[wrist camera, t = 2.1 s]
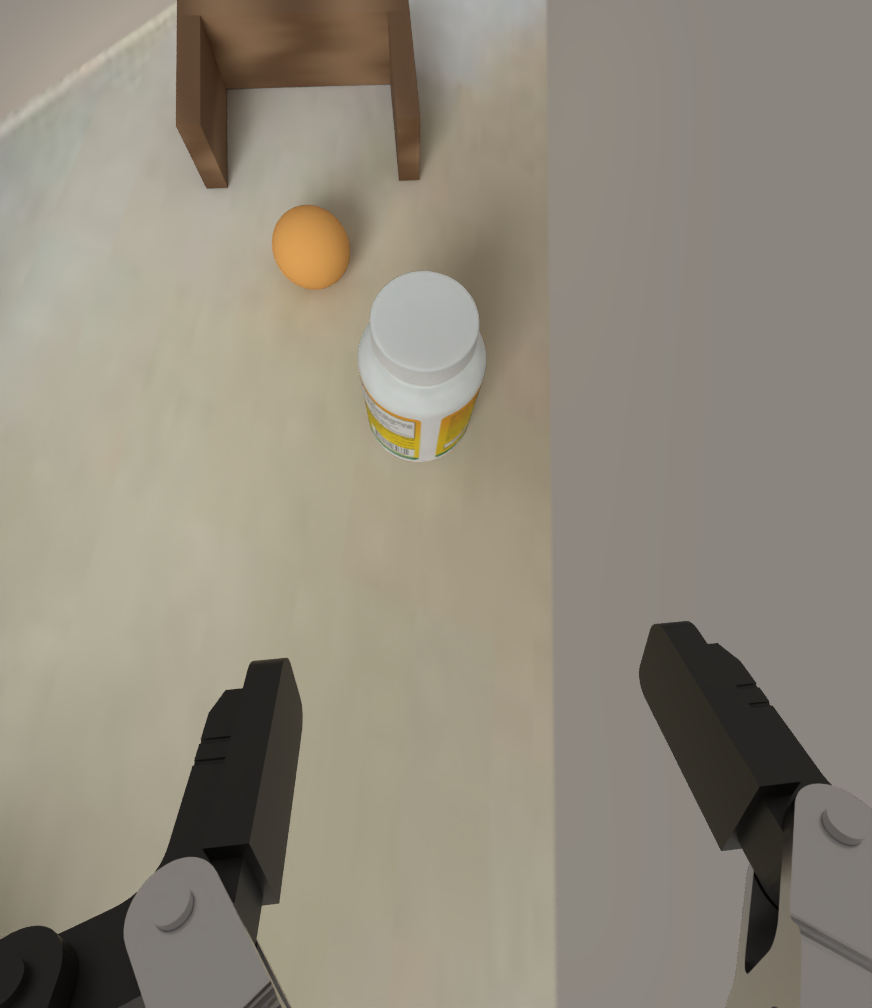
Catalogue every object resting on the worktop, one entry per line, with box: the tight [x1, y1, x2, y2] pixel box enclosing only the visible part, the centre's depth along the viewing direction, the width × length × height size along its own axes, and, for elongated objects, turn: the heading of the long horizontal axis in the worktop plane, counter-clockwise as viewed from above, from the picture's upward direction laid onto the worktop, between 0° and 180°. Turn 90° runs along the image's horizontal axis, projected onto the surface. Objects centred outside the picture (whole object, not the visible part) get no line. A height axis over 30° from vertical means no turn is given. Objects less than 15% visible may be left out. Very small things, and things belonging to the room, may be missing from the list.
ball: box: [272, 205, 350, 289], centre depth 27 cm, size 4×4×4 cm
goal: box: [176, 0, 420, 188], centre depth 29 cm, size 12×8×4 cm, turn 95°
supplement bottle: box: [358, 271, 486, 462], centre depth 23 cm, size 5×5×10 cm
